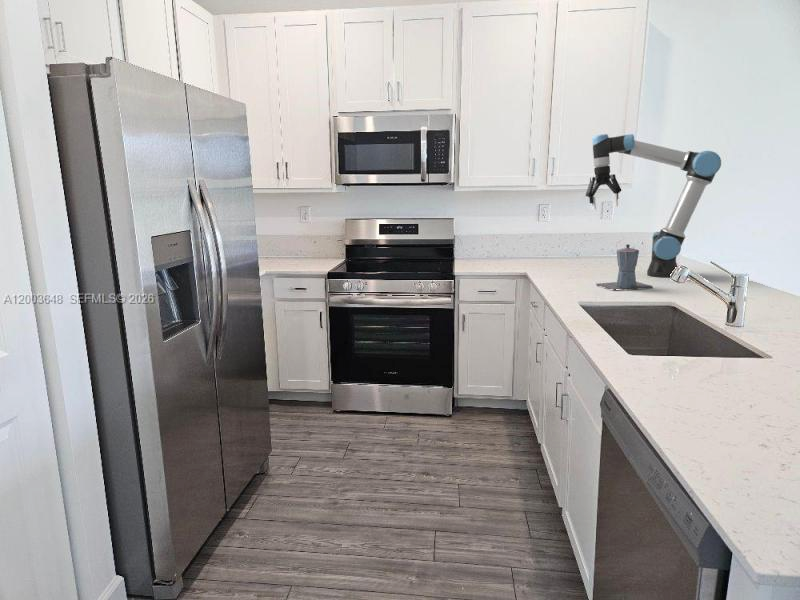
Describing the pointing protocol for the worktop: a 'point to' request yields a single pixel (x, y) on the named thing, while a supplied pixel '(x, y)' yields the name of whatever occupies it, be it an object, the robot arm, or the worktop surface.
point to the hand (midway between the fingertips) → (604, 208)
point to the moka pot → (627, 267)
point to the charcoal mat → (614, 287)
